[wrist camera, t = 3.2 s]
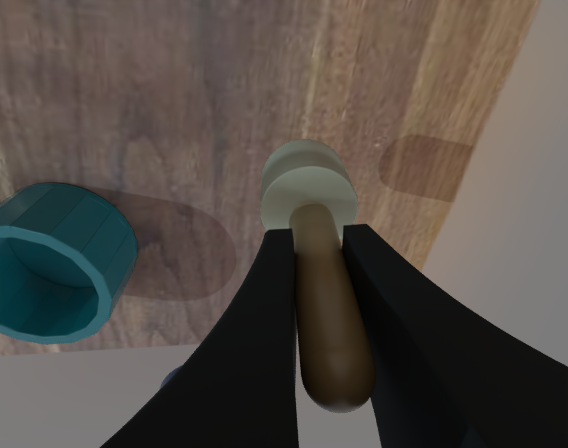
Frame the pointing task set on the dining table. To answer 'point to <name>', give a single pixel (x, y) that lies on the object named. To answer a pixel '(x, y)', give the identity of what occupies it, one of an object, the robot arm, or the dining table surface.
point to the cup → (61, 263)
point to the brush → (320, 270)
